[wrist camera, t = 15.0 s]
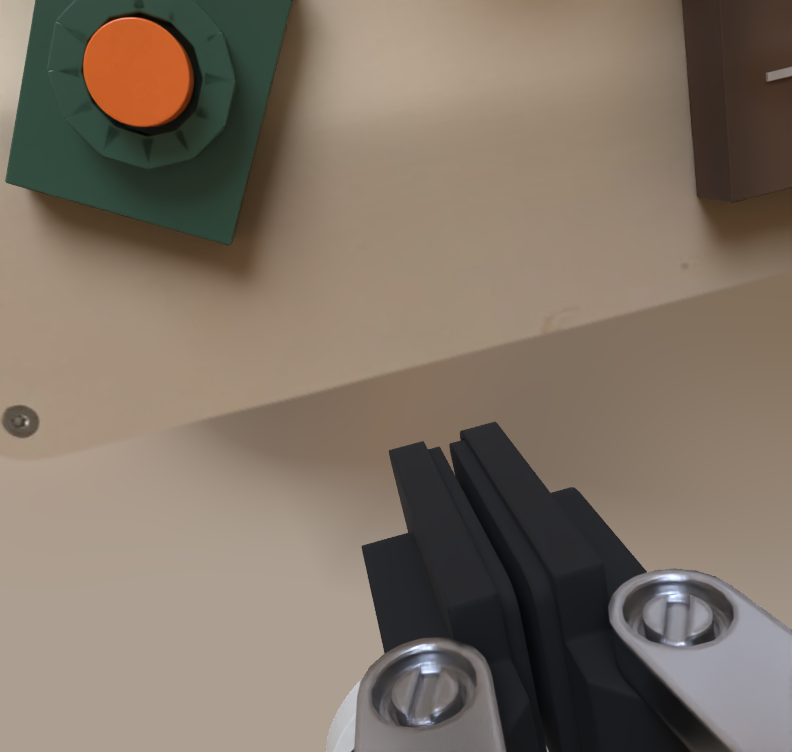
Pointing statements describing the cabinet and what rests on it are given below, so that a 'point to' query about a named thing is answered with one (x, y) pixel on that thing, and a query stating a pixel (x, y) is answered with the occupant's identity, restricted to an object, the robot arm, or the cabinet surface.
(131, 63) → the button
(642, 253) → the cabinet surface
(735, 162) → the hob panel
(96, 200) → the green push button box
